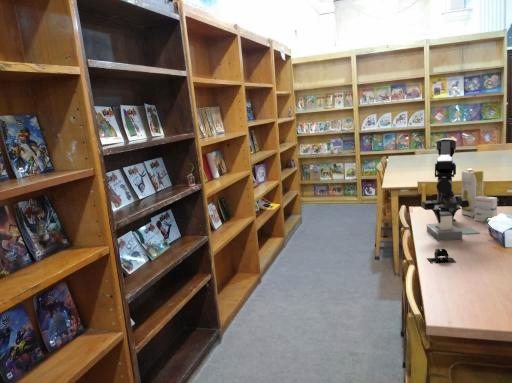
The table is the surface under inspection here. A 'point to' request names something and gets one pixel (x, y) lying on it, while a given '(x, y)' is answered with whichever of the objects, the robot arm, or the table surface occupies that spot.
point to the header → (444, 232)
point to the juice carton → (471, 189)
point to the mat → (468, 231)
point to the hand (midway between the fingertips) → (444, 222)
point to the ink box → (485, 208)
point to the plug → (445, 221)
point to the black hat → (441, 259)
